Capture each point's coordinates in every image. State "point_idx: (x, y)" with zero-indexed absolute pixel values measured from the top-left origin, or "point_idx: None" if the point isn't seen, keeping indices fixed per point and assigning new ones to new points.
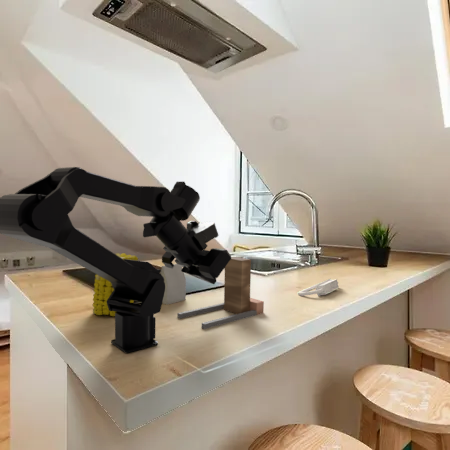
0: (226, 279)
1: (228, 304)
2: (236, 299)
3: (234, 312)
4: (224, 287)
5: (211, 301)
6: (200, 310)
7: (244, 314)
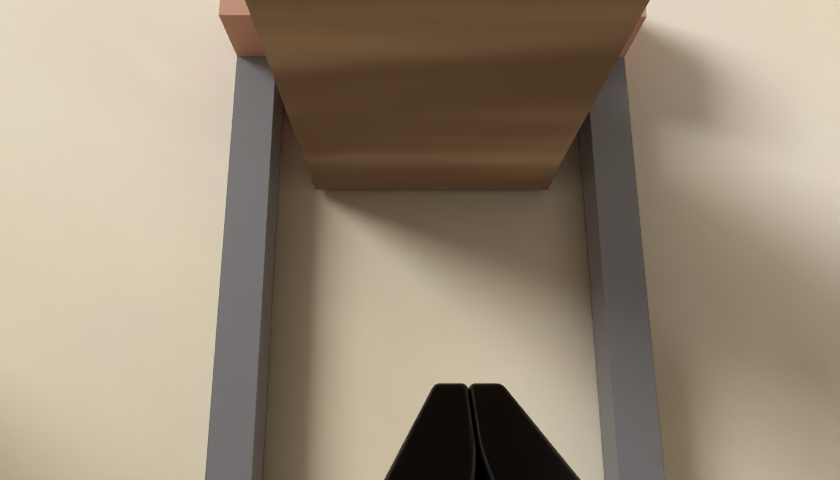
0: (295, 14)
1: (374, 165)
2: (503, 133)
3: (461, 186)
4: (276, 82)
5: (7, 89)
6: (254, 458)
7: (634, 207)
